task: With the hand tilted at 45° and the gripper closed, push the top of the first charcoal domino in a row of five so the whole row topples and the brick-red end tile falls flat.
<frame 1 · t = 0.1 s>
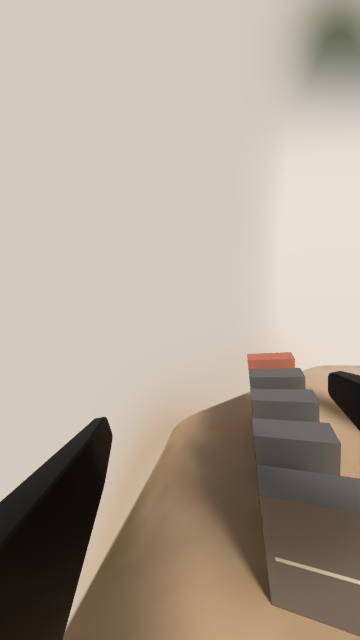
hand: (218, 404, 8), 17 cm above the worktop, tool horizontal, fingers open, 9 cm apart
domino 1: (312, 599, 12), on the worktop
domino 3: (286, 480, 19), on the worktop
domino 5: (274, 423, 25), on the worktop
domino 2: (296, 527, 16), on the worktop
domino 4: (280, 448, 22), on the worktop
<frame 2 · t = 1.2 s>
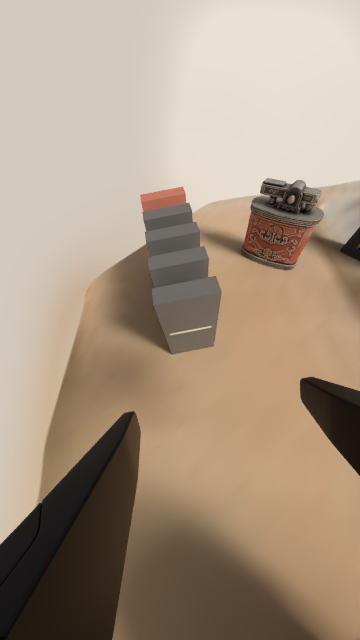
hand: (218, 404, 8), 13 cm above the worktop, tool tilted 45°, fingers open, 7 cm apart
domino 1: (191, 344, 23), on the worktop
lighter: (266, 258, 29), on the worktop
domino 3: (181, 296, 26), on the worktop
domino 5: (173, 262, 30), on the worktop
domino 2: (185, 318, 24), on the worktop
domino 4: (177, 278, 28), on the worktop
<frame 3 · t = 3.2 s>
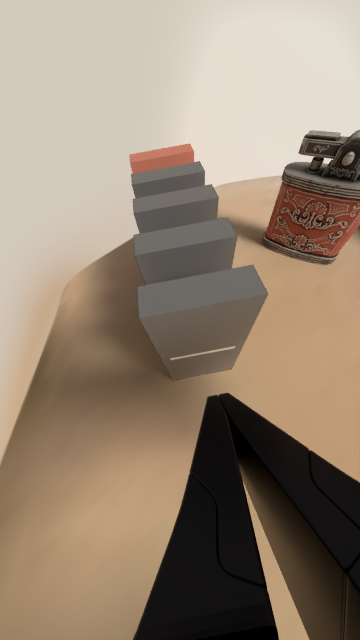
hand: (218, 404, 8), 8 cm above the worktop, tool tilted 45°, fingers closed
domino 1: (200, 365, 16), on the worktop
lighter: (295, 250, 22), on the worktop
domino 3: (185, 298, 20), on the worktop
domino 5: (175, 254, 24), on the worktop
domino 2: (191, 329, 18), on the worktop
domino 4: (180, 275, 22), on the worktop
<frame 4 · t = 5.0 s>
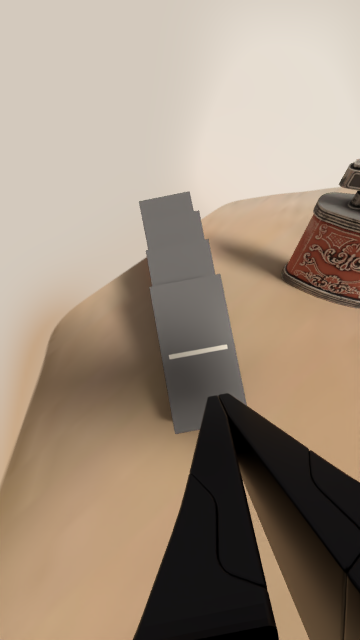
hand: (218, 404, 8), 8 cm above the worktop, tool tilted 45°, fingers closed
domino 1: (210, 421, 13), point 1 cm above the worktop, tilted 63°, touching domino 2
lighter: (321, 287, 19), on the worktop
domino 3: (191, 327, 17), point 1 cm above the worktop, tilted 61°, touching domino 2, domino 4
domino 2: (199, 368, 15), point 1 cm above the worktop, tilted 62°, touching domino 1, domino 3
domino 4: (184, 298, 19), point 1 cm above the worktop, tilted 61°, touching domino 3, domino 5
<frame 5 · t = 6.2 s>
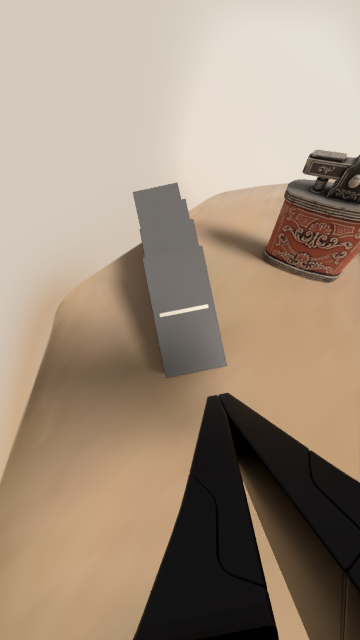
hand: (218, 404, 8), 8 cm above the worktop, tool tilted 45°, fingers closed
domino 1: (195, 369, 16), point 1 cm above the worktop, tilted 63°, touching domino 2
lighter: (297, 266, 22), on the worktop
domino 3: (181, 301, 19), point 1 cm above the worktop, tilted 62°, touching domino 2, domino 4
domino 2: (187, 331, 18), point 1 cm above the worktop, tilted 62°, touching domino 1, domino 3
domino 4: (175, 277, 21), point 1 cm above the worktop, tilted 62°, touching domino 3, domino 5
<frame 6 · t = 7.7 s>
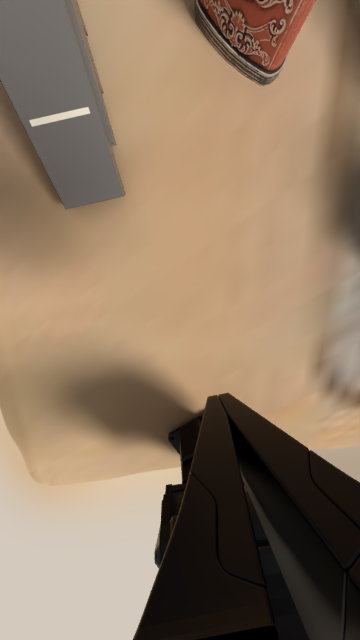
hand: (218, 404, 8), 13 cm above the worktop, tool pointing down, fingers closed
domino 1: (96, 201, 16), point 1 cm above the worktop, tilted 63°, touching domino 2
lighter: (238, 42, 15), on the worktop
domino 2: (85, 151, 16), point 1 cm above the worktop, tilted 63°, touching domino 1, domino 3
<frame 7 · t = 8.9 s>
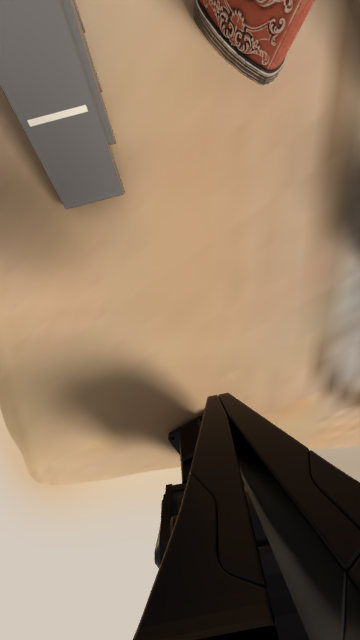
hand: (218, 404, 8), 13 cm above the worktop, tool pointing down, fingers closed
domino 1: (96, 200, 16), point 1 cm above the worktop, tilted 63°, touching domino 2
lighter: (238, 41, 15), on the worktop
domino 2: (85, 150, 16), point 1 cm above the worktop, tilted 63°, touching domino 1, domino 3
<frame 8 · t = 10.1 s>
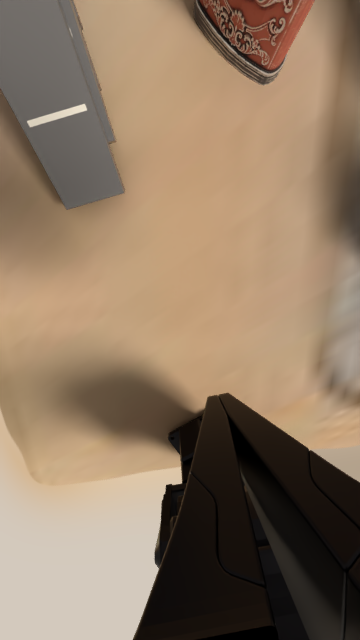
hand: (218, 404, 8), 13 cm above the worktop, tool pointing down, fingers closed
domino 1: (96, 199, 16), point 1 cm above the worktop, tilted 63°, touching domino 2
lighter: (238, 41, 15), on the worktop
domino 2: (86, 149, 16), point 1 cm above the worktop, tilted 63°, touching domino 1, domino 3
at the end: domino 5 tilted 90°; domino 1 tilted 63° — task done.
